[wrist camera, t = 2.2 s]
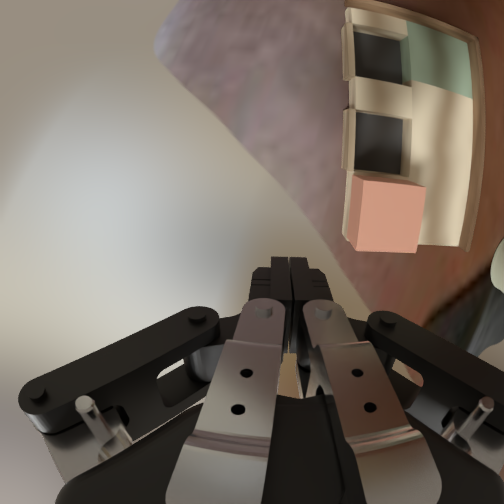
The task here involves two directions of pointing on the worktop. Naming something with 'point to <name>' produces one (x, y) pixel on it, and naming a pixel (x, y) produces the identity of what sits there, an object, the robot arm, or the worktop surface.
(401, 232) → the salmon pink square block
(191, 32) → the worktop surface
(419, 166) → the board
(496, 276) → the can
